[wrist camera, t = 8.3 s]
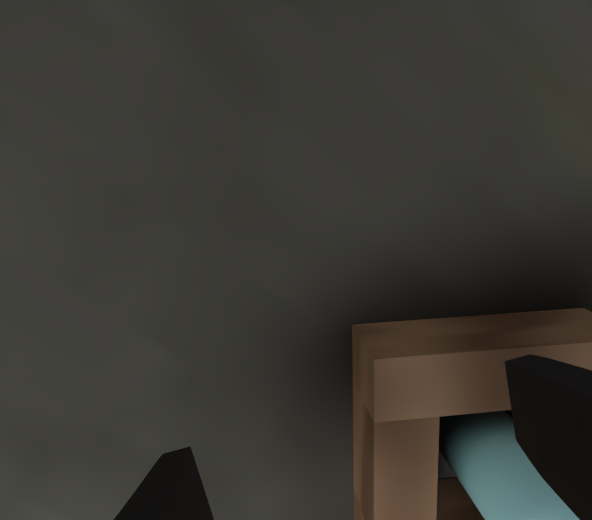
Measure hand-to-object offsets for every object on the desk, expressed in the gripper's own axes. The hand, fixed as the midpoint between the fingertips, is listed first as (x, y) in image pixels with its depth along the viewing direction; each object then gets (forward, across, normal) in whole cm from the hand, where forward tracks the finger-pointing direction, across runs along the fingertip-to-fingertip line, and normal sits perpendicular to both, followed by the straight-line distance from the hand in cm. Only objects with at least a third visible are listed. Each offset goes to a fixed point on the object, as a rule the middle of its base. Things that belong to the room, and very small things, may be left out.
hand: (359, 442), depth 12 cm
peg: (+10, -6, +7) cm, 14 cm away
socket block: (+10, -6, +7) cm, 14 cm away
